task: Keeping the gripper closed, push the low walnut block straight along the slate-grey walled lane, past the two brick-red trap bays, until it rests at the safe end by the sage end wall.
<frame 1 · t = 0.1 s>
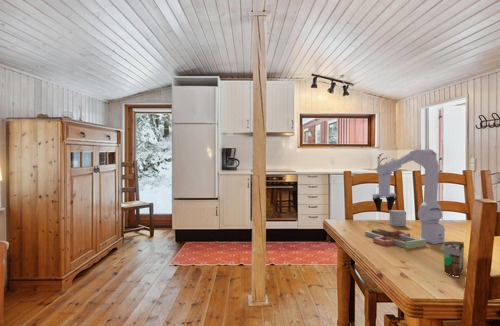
hand: (384, 210, 181), 10 cm above the table, tool pointing down, fingers open, 7 cm apart
food container: (451, 272, 115), on the table
medicine box: (397, 226, 188), on the table
walnut block: (378, 236, 166), on the table
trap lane: (389, 238, 159), on the table
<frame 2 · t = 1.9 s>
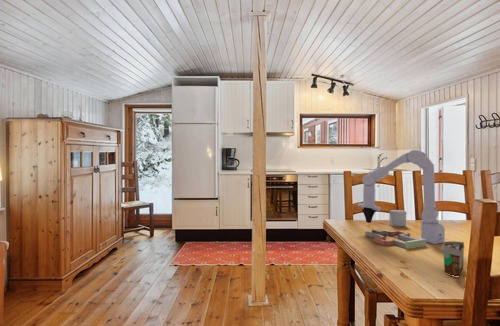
hand: (368, 222, 172), 5 cm above the table, tool pointing down, fingers closed
nothing on the table moved.
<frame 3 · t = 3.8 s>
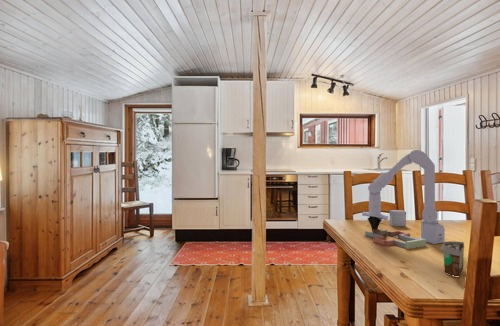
hand: (374, 231, 168), 1 cm above the table, tool pointing down, fingers closed
walnut block: (379, 235, 165), on the table, touching gripper
everything else where it was.
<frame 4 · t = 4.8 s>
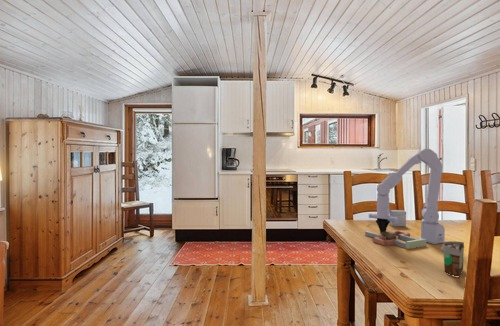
hand: (382, 234, 163), 1 cm above the table, tool pointing down, fingers closed
walnut block: (388, 238, 160), on the table, touching gripper
everything else where it was.
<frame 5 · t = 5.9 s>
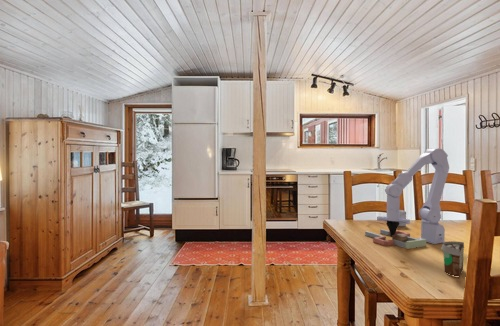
hand: (392, 237, 157), 1 cm above the table, tool pointing down, fingers closed
walnut block: (399, 241, 154), on the table, touching gripper
everything else where it was.
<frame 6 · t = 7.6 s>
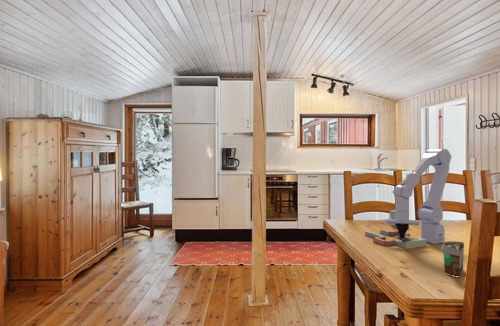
hand: (401, 239, 152), 1 cm above the table, tool pointing down, fingers closed
walnut block: (409, 245, 149), on the table
everything else where it was.
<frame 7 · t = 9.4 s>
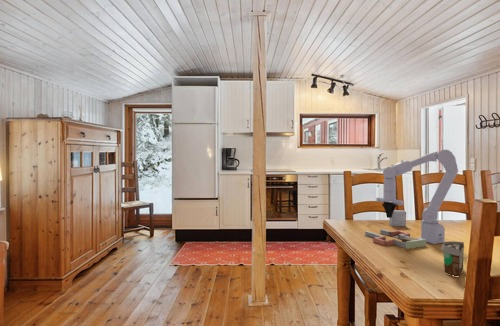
hand: (389, 217, 165), 9 cm above the table, tool pointing down, fingers closed
nothing on the table moved.
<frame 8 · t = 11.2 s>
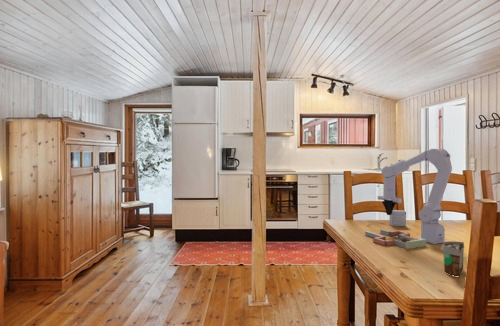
hand: (389, 214, 172), 9 cm above the table, tool pointing down, fingers closed
nothing on the table moved.
at the end: walnut block 0.6 cm from the target spot, on the table; walnut block tilted 0°; walnut block moved 18.2 cm from its start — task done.
